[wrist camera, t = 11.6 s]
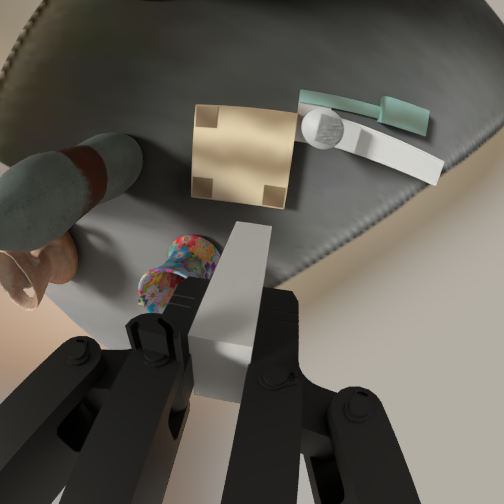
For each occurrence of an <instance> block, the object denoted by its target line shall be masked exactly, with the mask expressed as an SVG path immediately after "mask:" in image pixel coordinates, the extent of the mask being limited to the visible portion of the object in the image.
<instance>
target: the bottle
mask: <svg viewBox="0 0 504 504" xmlns="http://www.w3.org/2000/svg"><path fill="white" fill-rule="evenodd" d="M142 165H143V155H142V151H141V149H140V146H139V145H138V143H137V142H136V141H135V139H133V138H132V137H130V136H128V135H125V134H121V133H103V134H99V135H96V136H94V137H92V138H90V139H88V140H86V141H84V142H82V143H80V144H78V145H76V146H73V147H68V148H64V149H60V150H55V151H50V152H45V153H40V154H36V155H33V156H30V157H28V158H26V159H24V160H22V161H21V162H19V163H17V164H15V165H14V166H12V167H11V168H10V169H9V170H7V171H6V172H5V173H4V174H3V175H2V176H1V178H0V250H5V251H20V252H31V251H34V250H37V249H40V248H41V247H43V246H45V245H47V244H48V243H50V242H52V241H54V240H55V239H57V238H59V237H61V236H62V235H63V234H64V233H65V232H66V231H67V230H68V229H69V228H70V227H71V226H73V225H74V224H75V223H76V222H77V221H78V220H79V219H80V218H82V217H83V216H84V215H85V214H86V213H88V212H89V211H90V210H91V209H92V208H94V207H95V206H96V205H99V204H101V203H104V202H106V201H109V200H111V199H113V198H116V197H118V196H120V195H122V194H123V193H124V192H125V191H126V190H127V189H128V188H129V187H130V186H131V185H132V184H133V183H134V182H135V181H136V179H137V178H138V176H139V174H140V172H141V170H142Z"/></svg>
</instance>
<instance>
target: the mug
mask: <svg viewBox="0 0 504 504" xmlns="http://www.w3.org/2000/svg"><path fill="white" fill-rule="evenodd" d="M220 258H221V257H220V254H219V252H218V250H217V249H216V247H215V246H214V245H213V244H212V243H211V242H209V241H208V240H206V239H204V238H202V237H200V236H196V235H185V236H181V237H179V238H177V239H176V240H175V241H173V243H172V244H171V245H170V247H169V250H168V259H167V261H166V262H165V263H164V264H163V265H162V266H160V267H158V268H155V269H152V270H150V271H148V272H146V273H145V274H144V275H143V276H142V278H141V280H140V282H139V286H138V292H139V297H140V298H139V299H138V303H139V305H140V306H144V307H145V308H146V310H147V311H148V312H149V313H161V314H162V313H163V311H164V309H165V308H166V306H167V304H168V303H169V300H170V299H171V297H172V296H173V293H174V291H175V290H176V288H177V286H178V284H179V283H181V282H182V281H183V280H185V279H186V278H187V277H189V276H192V277H197V278H203V279H209V280H211V279H212V276H213V274H214V272H215V269H216V267H217V265H218V262H219V260H220Z"/></svg>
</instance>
